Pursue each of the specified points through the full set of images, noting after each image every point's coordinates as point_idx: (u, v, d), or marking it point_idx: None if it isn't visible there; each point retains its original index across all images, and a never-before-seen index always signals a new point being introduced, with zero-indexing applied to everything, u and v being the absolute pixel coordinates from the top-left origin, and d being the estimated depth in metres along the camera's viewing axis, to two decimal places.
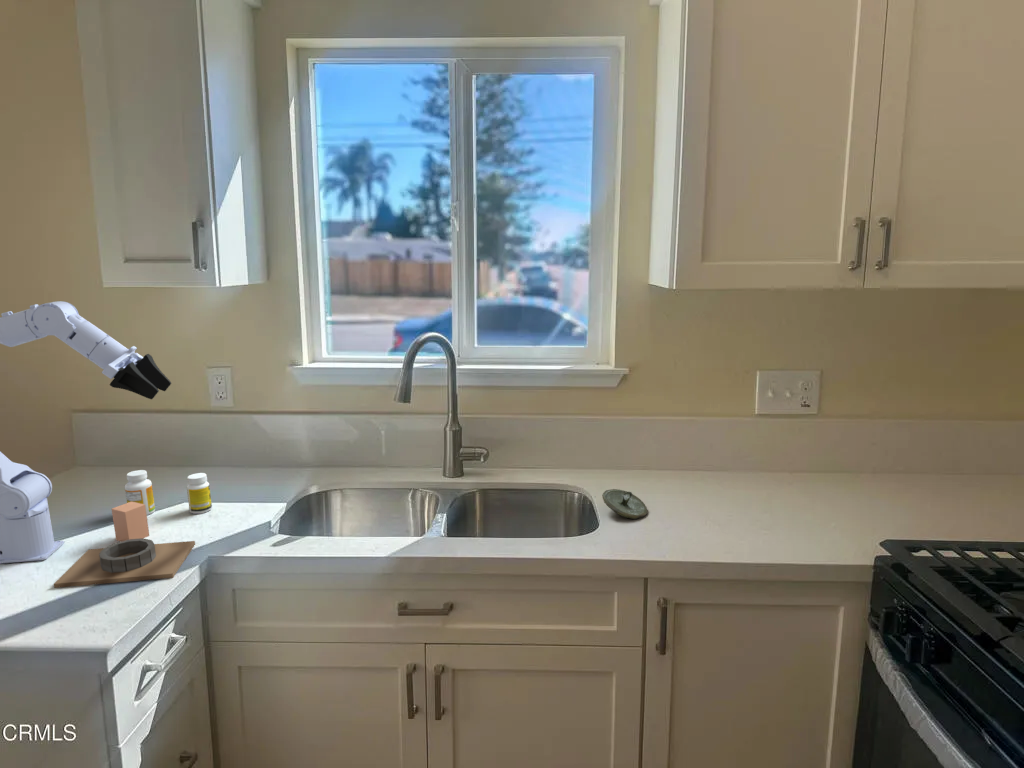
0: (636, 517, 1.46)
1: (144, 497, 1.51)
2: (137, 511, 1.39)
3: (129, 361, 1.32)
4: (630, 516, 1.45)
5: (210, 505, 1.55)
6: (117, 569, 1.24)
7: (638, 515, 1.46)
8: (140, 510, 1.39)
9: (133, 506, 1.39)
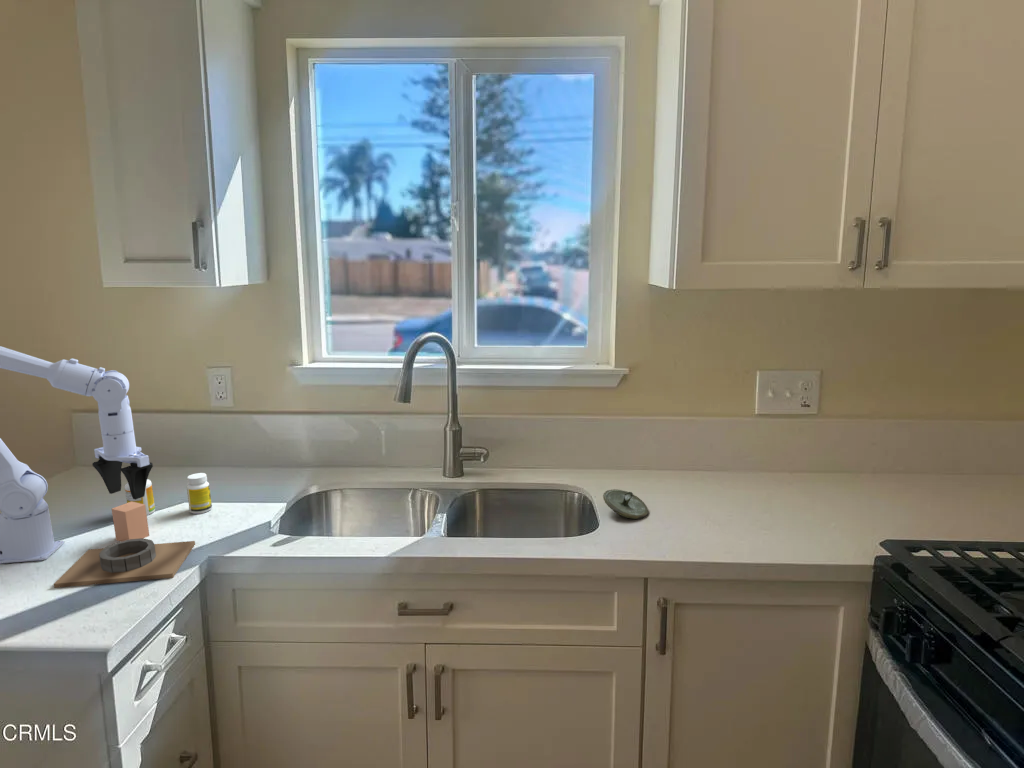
0: (637, 517, 1.46)
1: (144, 497, 1.51)
2: (137, 511, 1.39)
3: None
4: (631, 516, 1.45)
5: (210, 505, 1.55)
6: (117, 569, 1.24)
7: (639, 515, 1.46)
8: (140, 510, 1.39)
9: (133, 506, 1.39)
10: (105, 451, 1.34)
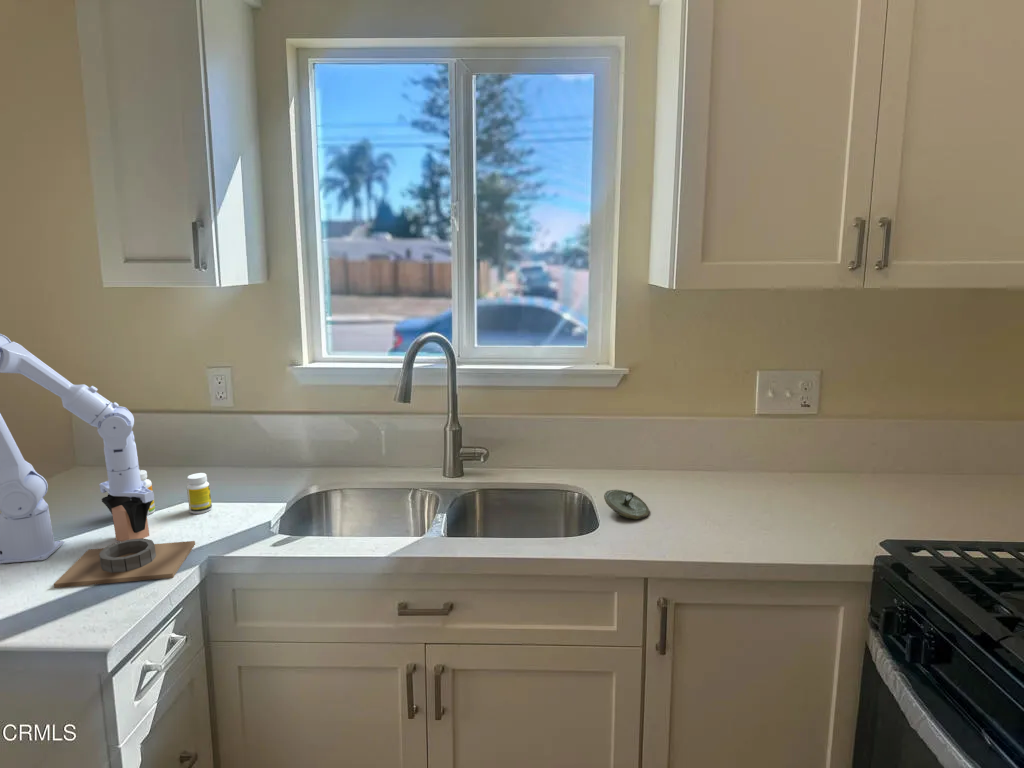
0: (638, 518, 1.45)
1: None
2: None
3: None
4: (632, 517, 1.45)
5: (210, 505, 1.55)
6: (117, 569, 1.24)
7: (640, 516, 1.46)
8: None
9: None
10: (110, 487, 1.36)
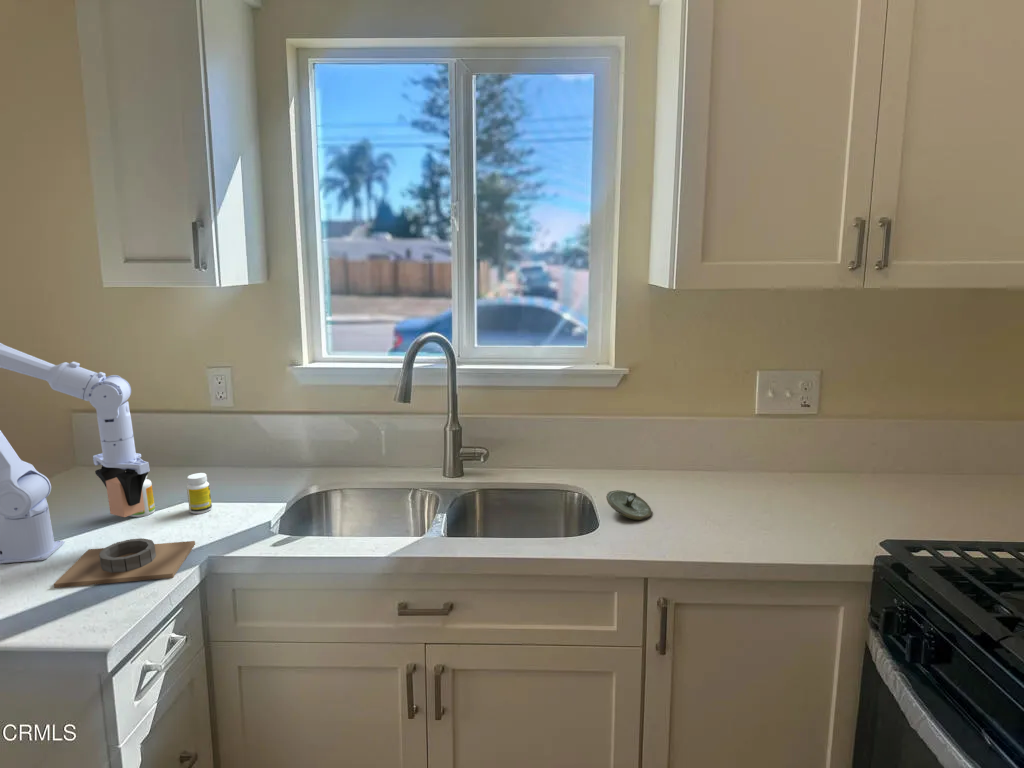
0: (641, 518, 1.45)
1: (144, 497, 1.51)
2: None
3: None
4: (635, 517, 1.45)
5: (210, 505, 1.55)
6: (117, 569, 1.24)
7: (642, 516, 1.46)
8: None
9: None
10: (104, 458, 1.32)
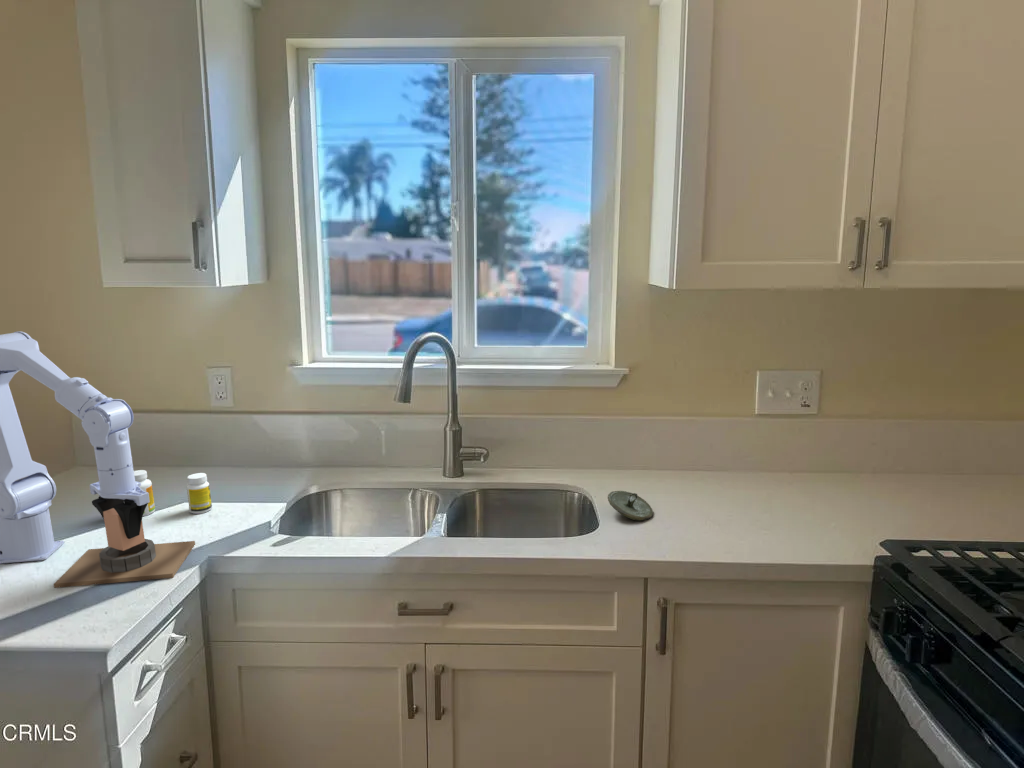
0: (642, 519, 1.45)
1: None
2: None
3: None
4: (636, 518, 1.44)
5: (210, 505, 1.55)
6: (117, 569, 1.24)
7: (644, 517, 1.45)
8: None
9: None
10: (101, 488, 1.23)
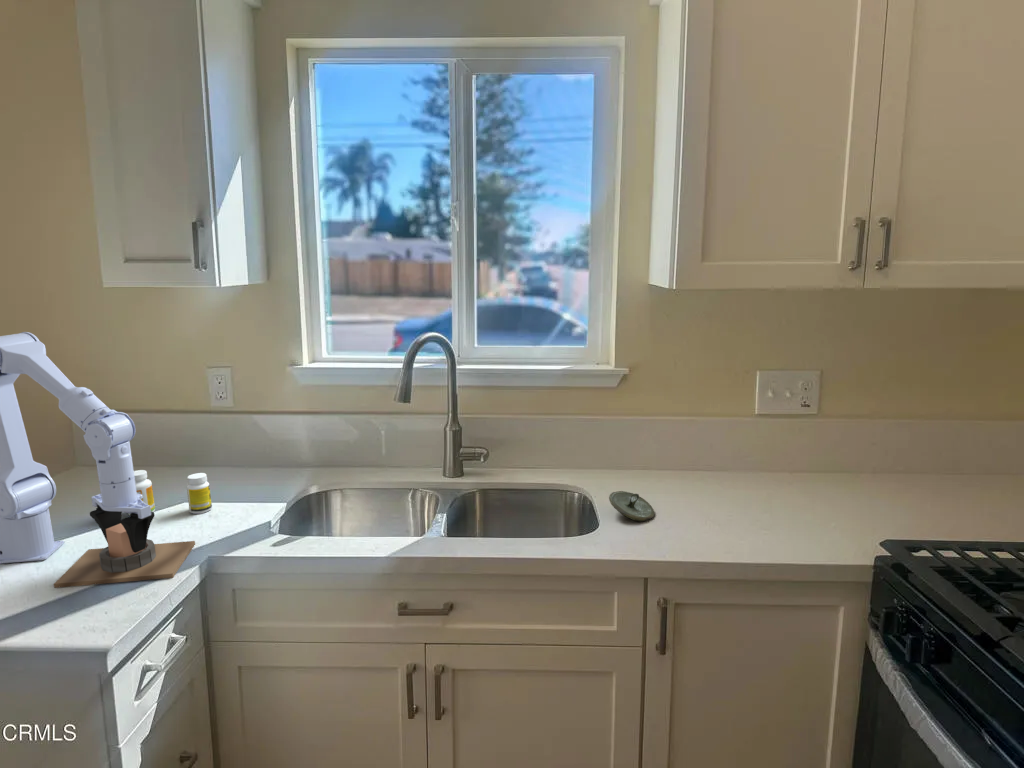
0: (644, 519, 1.45)
1: (144, 497, 1.51)
2: None
3: None
4: (638, 518, 1.44)
5: (210, 505, 1.55)
6: (117, 569, 1.24)
7: (645, 517, 1.45)
8: None
9: None
10: (103, 501, 1.24)
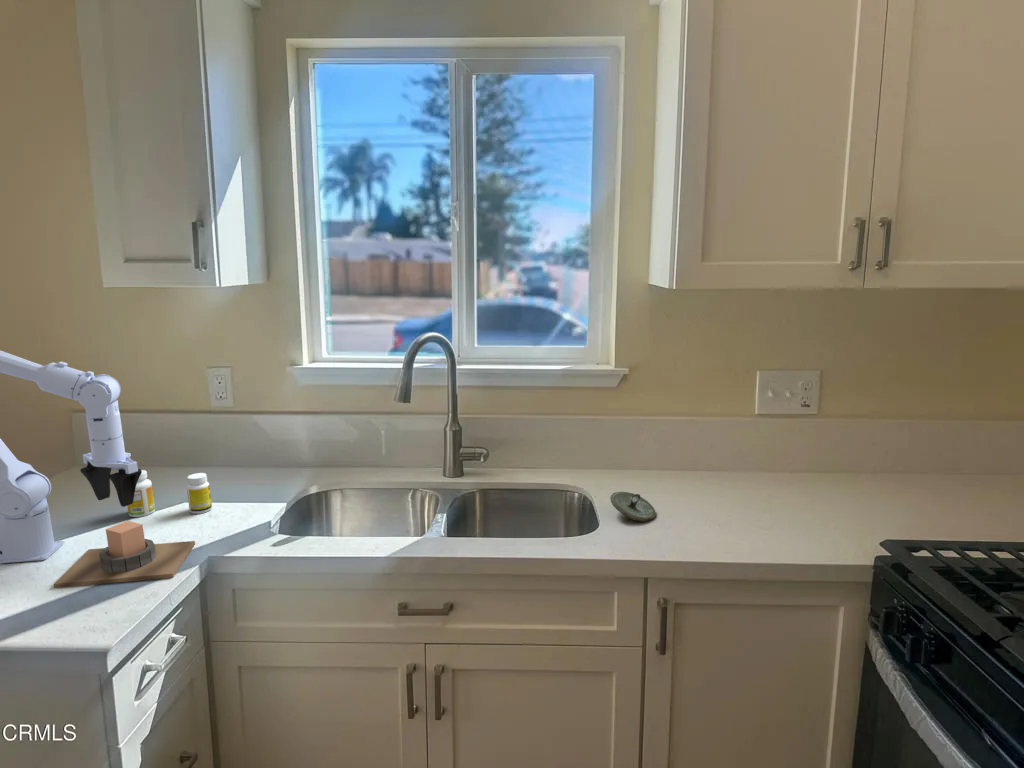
0: (645, 520, 1.44)
1: (144, 497, 1.51)
2: (133, 532, 1.27)
3: None
4: (639, 519, 1.44)
5: (210, 505, 1.55)
6: (117, 569, 1.24)
7: (647, 518, 1.45)
8: (137, 530, 1.27)
9: (129, 526, 1.27)
10: (93, 457, 1.31)
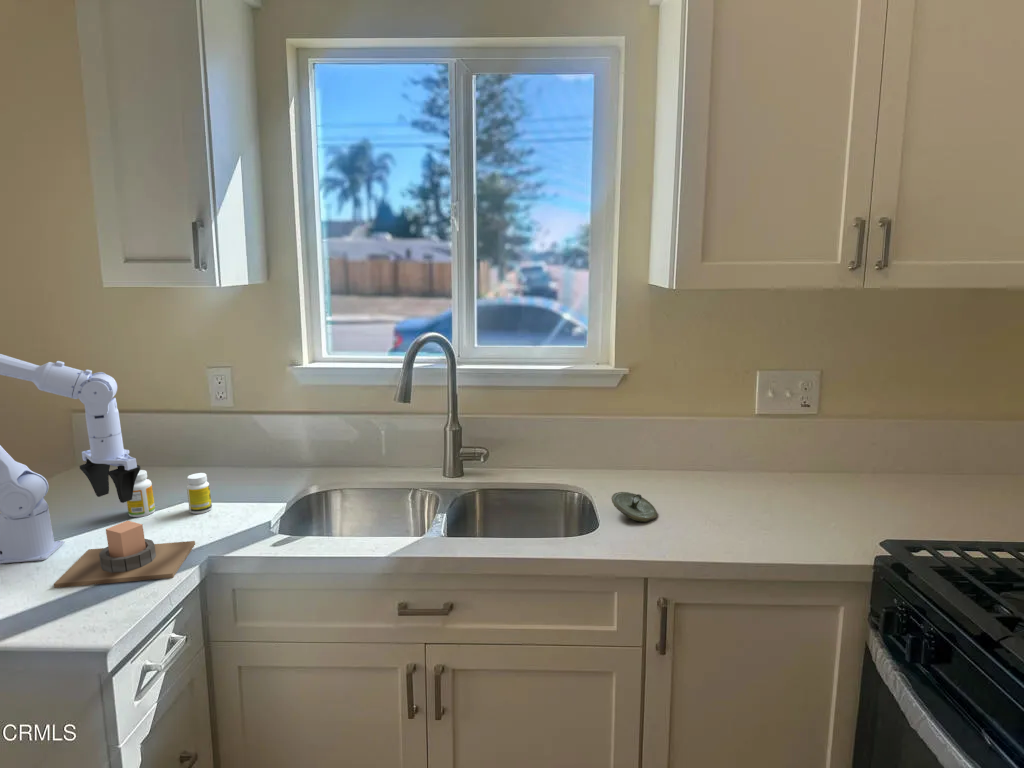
0: (646, 520, 1.44)
1: (144, 497, 1.51)
2: (133, 532, 1.27)
3: None
4: (640, 519, 1.44)
5: (210, 505, 1.55)
6: (117, 569, 1.24)
7: (648, 518, 1.45)
8: (137, 530, 1.27)
9: (129, 526, 1.27)
10: (92, 454, 1.33)
